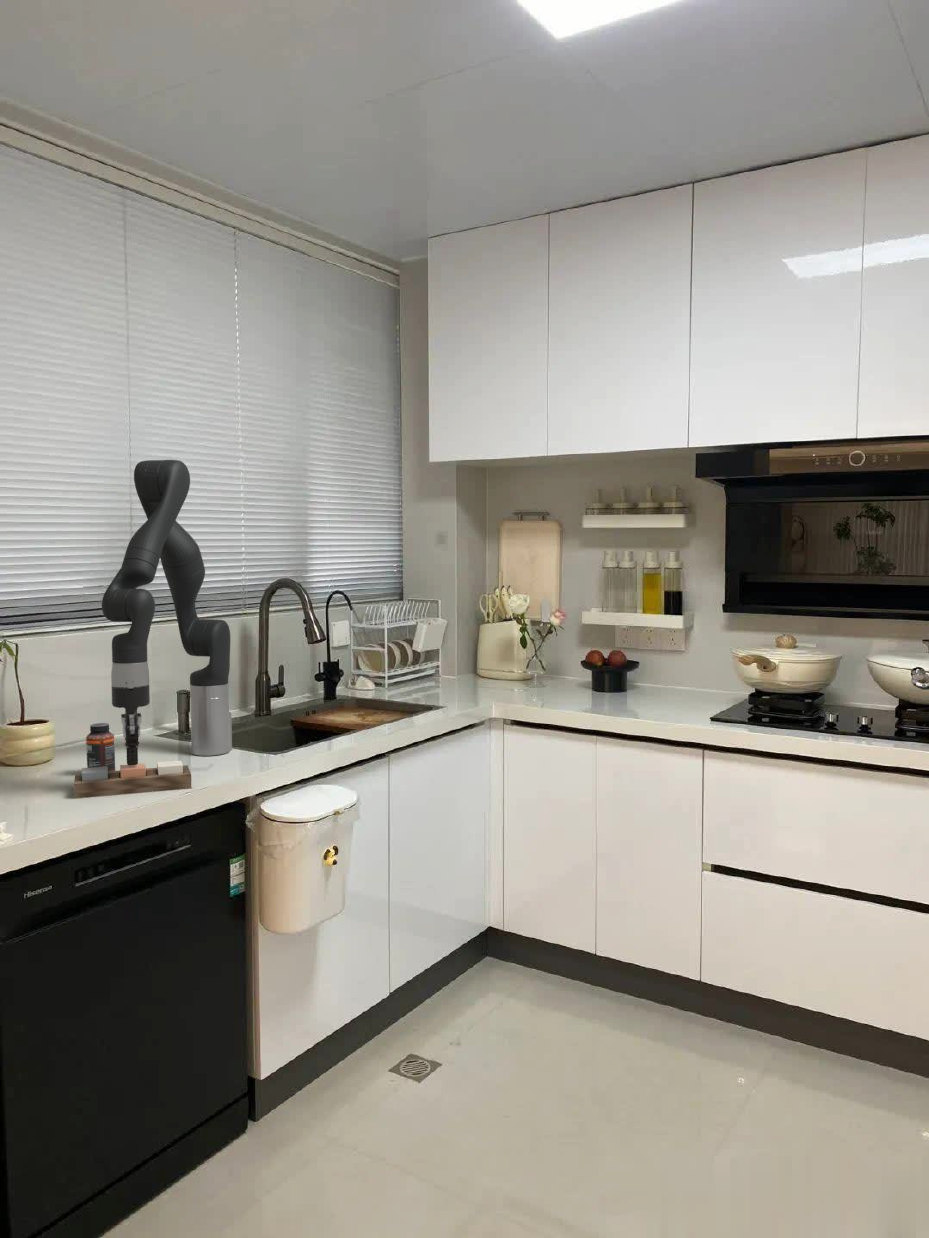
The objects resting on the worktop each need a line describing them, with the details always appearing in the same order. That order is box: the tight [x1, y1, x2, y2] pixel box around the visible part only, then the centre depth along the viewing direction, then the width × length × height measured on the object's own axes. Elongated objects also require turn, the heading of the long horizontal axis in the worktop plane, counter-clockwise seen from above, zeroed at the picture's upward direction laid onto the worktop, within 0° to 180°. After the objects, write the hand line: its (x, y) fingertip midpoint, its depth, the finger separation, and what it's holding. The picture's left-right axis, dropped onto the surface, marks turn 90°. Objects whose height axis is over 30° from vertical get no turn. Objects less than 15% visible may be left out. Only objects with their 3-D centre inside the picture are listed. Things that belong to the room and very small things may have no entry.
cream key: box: [156, 760, 184, 775], centre depth 204 cm, size 5×5×2 cm
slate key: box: [81, 766, 108, 781], centre depth 198 cm, size 5×5×2 cm
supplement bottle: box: [85, 722, 116, 771], centre depth 214 cm, size 6×6×11 cm
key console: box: [73, 764, 192, 799], centre depth 201 cm, size 23×9×3 cm, turn 111°
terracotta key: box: [119, 762, 146, 778], centre depth 201 cm, size 5×5×2 cm
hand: (132, 764), depth 201 cm, fingers closed
